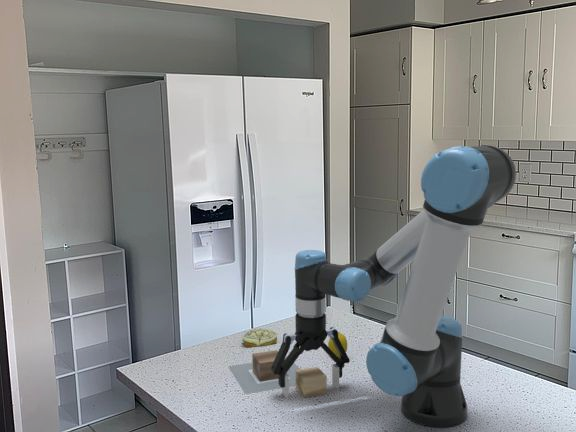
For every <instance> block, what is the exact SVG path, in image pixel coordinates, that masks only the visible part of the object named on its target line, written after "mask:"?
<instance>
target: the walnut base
mask: <svg viewBox="0 0 576 432" xmlns="http://www.w3.org/2000/svg"><path fill="white" fill-rule="evenodd" d="M278 351H279V350H278V349H275V350H269V351H261V352H253V353H252V355H251V356H252V357H251V358H252V363H253V372H254V374H255V375H256V376H257V378H258V379H259V381H260V382H261V381H267V380H273V379H279V377H278V374H276V375H275V374H274V373H273V372H272V370H271V367H272V365H273V362H274V360H275V358H276V356H277V353H278ZM284 360H285V359H284Z"/></svg>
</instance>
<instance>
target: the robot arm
mask: <svg viewBox="0 0 576 432" xmlns="http://www.w3.org/2000/svg"><path fill="white" fill-rule="evenodd" d="M516 179H517V168H516V165H515V161H514V160H513V159H512V157H511V156H510V155H509V154H508V153H507V152H506V151H504V150H503V149H502V148H500V147H497V146H495V145H485V144H484V145H474V146H473V145H472V146H465V145H457V146H452V147H449V148H447V149H444V150H441V151H439V152H437V153H436V154H435V155H433V156H432V157H431V158H429V160H428V162H427V163H426V165H425V166H424V168H423V171H422V173H421V178H420V187H421V191H422V192H423V198H424V201H423V204H422V210H421V211H420V212H419V213H418V214H417V215H415V216H414V217H413V218H412V219H410V220H409V222H408V223H406V224H405V225H404V226H402V228H400V229H398V231H396V232H395V234H394V235H392V236H391V237H390V238H388V240H386V241H385V242H384V243H383V244H381V246H380V247H378V248H377V249H376V250H375V251H374V252H373V253H372V254H370V255H369V256H368V257H366V258H363V259H358V260H357V261H353V262H350V263H346V264H337V263H331V262H328V260H327V255H326V253H325V252H324V251H322V250H320V249H319V250H318V249H307V250H306V249H305V250H302V251H299V252H296V255H295V262H294V265H295V266H294V279H295V281H294V283H295V285H294V287H295V289H294V290H295V299H294V301H295V304H294V305H295V313H296V314H295V315H294V316H295V332H294V334H288V333H283V336H282V343H281V344H280V346H279V350H277V351H278V353H277V356H276V358H275V360H274V362H273V365H272V367H271V370H272V372H273V373H274V374H275V375H276V374H278V377H279V386H280V387H281V388H280V389H282V390H281V392H282V395H283V396H284V397H285V399H287V398H289V391H290V390H289V388H290V387H289V376H288V374H287V371H288V370H289V369H290V367H291V366H292V365H293V363H295V362H296V361H297V359H298V358H299V357H300V355H302V354H303V353H304V352H305V351H306V352H310V351H312V350H314V351H317V350H319V349H320V348H322V350H323V351H324V352H325V353H326V354H327V355H328V356H329V357H330V358H331V360H332V361H334V363H332V364H331V366H332V369H331V375H332V376H331V379H332V380H331V385H332V386H333V387H334V388H335V389H336V390H338V389H340V379H341V378H343V369H344V367H345V364H349V363H350V357H349V356H348V354H347V351H346V352H345V350H344V348H343V346H342V344H341V342H340V340H339V338H338V332H339V331H338V330H337V329H336V328H334V327H333V326H331V327H330V328H329V329H327V314H326V312H327V296H330V297H335V298H338V299H341V300H344V301H348V302H350V301H351V302H357V303H358V302H361V301H364V300H365V298H366V297H367V296H368V295H369V293H370V291H371V290H373V289H376V288H379V287H383V286H386V285H388V284H390V283H391V282H393V281H395V280H396V278H397V277H398V274H399V272H401V271H402V270H404V269H405V268H406V267H407V266H409V265H411V263H412V262H413V263H412V265H411V267H410V272H409V275H408V278H407V281H406V284H405V288H404V290H403V294H402V297H401V299H400V302H399V306H398V310H397V313H396V316H395V317H393V318H391V319H389V320H388V321H386V324H385V327H384V329H383V334H382V337H381V339H380V341H379V342H377V343H376V344H373V345H372V347H371V348H369V350H368V352H367V353H366V354H367V355H366V359H365V362H366V364H365V365H366V368H367V372H368V374H369V375H370V378H371V380H372V383H374V385H375V386H376V387H377V388H378V389H379V390H381V391H382V392H383V393H385V394H387V395H389V396H392V397H401V399H400V411H401V413H402V414H403V415H404V416H405V417H406V418H407V419H409V420H410V421H412V422H414V423H417V424H420V425H422V426H423V425H424V426H427V427H434V428H449V427H455V426H457V425H461V424H462V423H464V422H465V421H466V419H467V417H468V403H467V400H466V398H465V394H464V391H463V387H462V384H461V373H462V353H463V352H462V350H463V338H464V336H463V327H462V324H461V323H460V322H459V320H456V319H454V318H452V317H450V316H447V315H446V316H445V315H442V314H443V312H444V310H445V306H446V305H447V300H448V298H449V296H450V292H451V289H452V287H453V283H454V281H455V278H456V275H457V272H458V269H459V265H460V263H461V260H462V257H463V255H464V253H465V248H466V246H467V243H468V241H469V238H470V234H471V232H472V230H475V229H477V228H480V227H482V225H483V224H484V220H485V217H486V214H487V211H488V209H489V208H491V207H492V206H494V205H496V204H497V203H498V202H499V201H501V200H503V199H504V198H505V197H506V196H508V195H509V194H510V192H511V190H512V189H513V188H514V186H515V182H516ZM327 337H329V339H330V338H331V339H332V341H333V343H334V345H335V347H336V349H337V351H338V353H339V355H340V357H339V358H338V357H337V356H336V355H335V354H334V353H333V352H332V351H331V350H330V348H329V347H328V345H327V344H326V342H325V340H326V338H327ZM294 341H295V343H294V345H293V347H292V350H291V351H290V352H289V350H290V347H291V345H292V344H293V342H294ZM288 352H289V353H288ZM287 354H288V355H287ZM285 358H286V359H285ZM284 359H285V360H284Z"/></svg>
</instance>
